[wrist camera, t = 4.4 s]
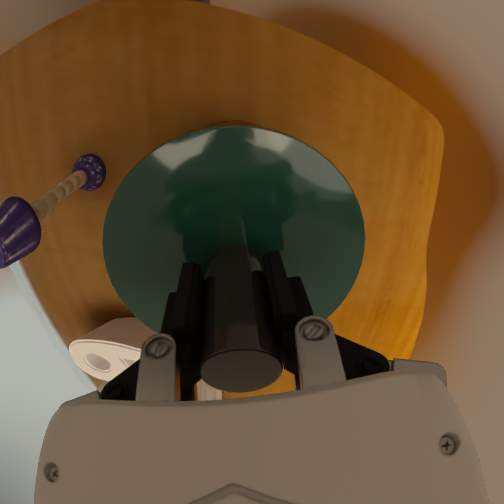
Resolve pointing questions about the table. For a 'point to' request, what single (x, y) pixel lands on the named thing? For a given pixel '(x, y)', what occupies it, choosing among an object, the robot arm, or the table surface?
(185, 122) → the table surface
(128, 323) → the wavy white extrusion
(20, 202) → the toy lamp
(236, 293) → the lid
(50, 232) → the table surface
